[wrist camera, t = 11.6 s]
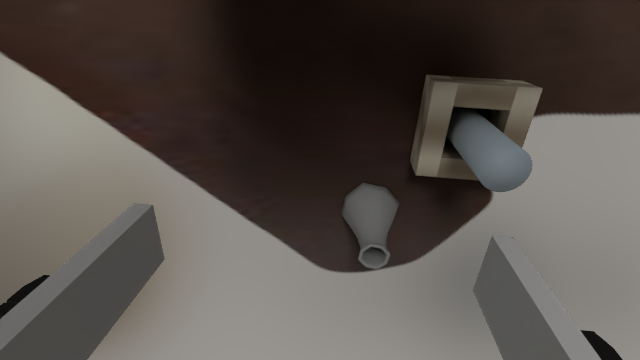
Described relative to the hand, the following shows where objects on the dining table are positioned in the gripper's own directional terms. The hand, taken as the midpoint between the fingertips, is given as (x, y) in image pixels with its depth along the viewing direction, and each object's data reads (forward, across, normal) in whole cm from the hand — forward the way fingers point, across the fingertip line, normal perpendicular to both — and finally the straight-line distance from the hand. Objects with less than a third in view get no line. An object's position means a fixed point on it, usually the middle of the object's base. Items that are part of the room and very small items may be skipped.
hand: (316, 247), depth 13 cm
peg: (+27, +14, -2) cm, 30 cm away
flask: (+27, +5, -14) cm, 31 cm away
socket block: (+27, +14, -2) cm, 30 cm away
